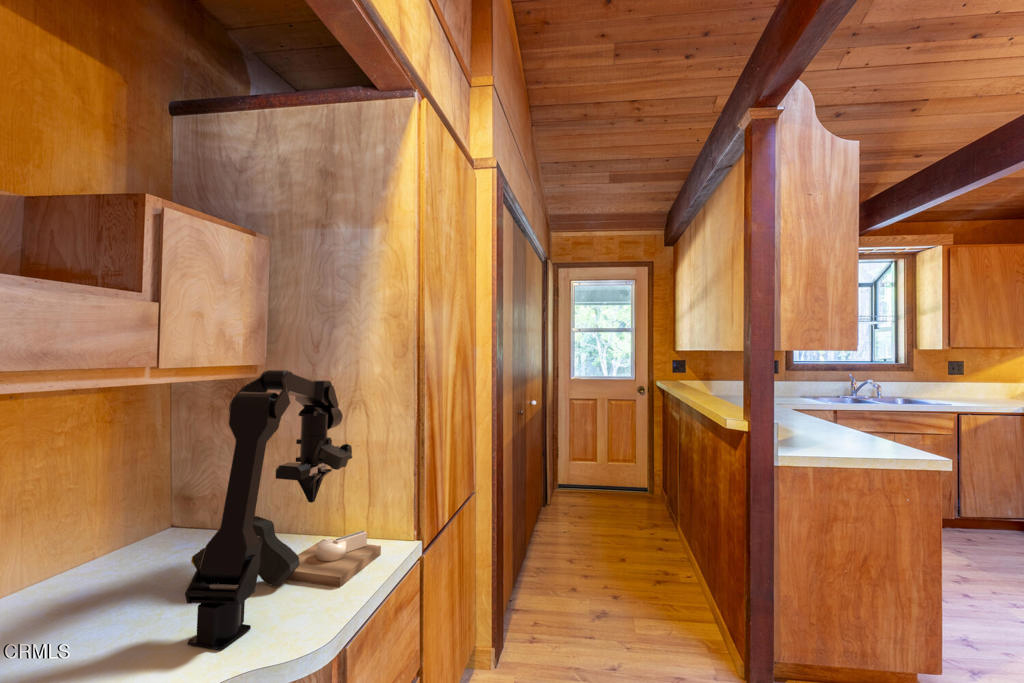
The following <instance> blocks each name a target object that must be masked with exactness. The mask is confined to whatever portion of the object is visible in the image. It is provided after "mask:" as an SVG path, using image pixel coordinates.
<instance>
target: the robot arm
mask: <svg viewBox="0 0 1024 683" xmlns="http://www.w3.org/2000/svg"><path fill="white" fill-rule="evenodd" d="M268 391H274V392H268ZM277 392H278V393H277ZM290 396H292V397H294V398H295V399H294V400H295V402H297V403H299V404H300V405H301V406H302V407H303V408H302V409H301V410H300V411H299V412H298V417H301V418H300V438H297V439H296V443H295V444H296V445H300V446H299V447H300V448H299V456H296V457H295V462H292V461H289V462H286V463H282V464H280V465H278V466H277V467H276V468H275V473H274V474H275V475H274V476H275V480H276V479H277V480H286V481H287V480H289V481H297V482H298V484H299V485H300V488H301V490H302V491H303V494H304V496H305V498H306V499H307V502H308V503H311V504H312V503H314V502H316V498H317V495H318V493H319V490H320V487H321V484H322V483H323V480H324V478H325V477H326V476H327V475H328V474H330V473H331V472H332V470H336V471H337V470H340V469H342V468H346V467H347V466H348V462H349V460H351V459H353V450H352V449H353V448H352V445H351V444H349V443H344V444H342V445H340V446H339V445H334V444H333V442H332V441H333V440H332V438H331V437H328V431H329V430H332V429H334V428H337V427H338V426H339V425H341V423H342V421H343V417H344V415H343V413H342V411H341V409H340V408H339V401H338V398H337V394H336V390H335V386H334V385H333V384H332V382H331V380H329V379H328V380H327V379H325V380H324V379H322V380H321V379H319V380H318V379H317V380H316V379H308V378H305V377H303V376H301V375H298V374H295V373H293V372H292V371H289V370H287V369H286V370H284V369H282V370H280V369H279V370H278V369H268V370H266V371H265V370H264V371H263V372H262V373H261V374H260V375H259V377H257V378H256V379H255V380H252V381H250V382H249V383H247V384H246V385H244V386H242V387H241V388H240V389H239V390H238V392H237V393H236V394H235V395H234V397H232V399H231V400H230V402H229V407H228V412H229V415H228V427H229V428H230V430H231V433H232V435H233V438H234V439H235V443H234V449H233V454H232V461H231V467H230V471H229V477H228V483H227V488H226V489H227V490H226V494H225V499H224V506H223V510H222V516H221V522H220V526H219V529H218V530H217V531H216V533H215V534H214V535H213V536H212V538H210V540H209V541H208V542H207V543H206V545H205V547H206V548H205V547H204V548H205V551H204V555H203V558H202V560H201V562H200V564H199V566H198V568H197V569H195V571H194V574H193V576H192V579H191V580H190V582H189V584H188V586H187V588H186V591H185V592H184V593H185V594H184V596H185V600H186V604H187V605H188V604H198V605H197V616H196V617H197V618H196V634H195V635H194V636H192V637H191V638H190V639H188V640H187V645H189V646H195V647H201V648H205V649H211V650H218V651H221V650H224V649H225V648H226V647H229V645H231V644H232V643H234V642H235V641H237V639H239V638H241V637H242V636H244V635H245V634H246V633H247V632H249V631H250V630H251V628H252V625H251V624H244V622H245V606H246V604H245V603H246V600H247V599H248V598H250V597H251V596H252V595H253V594H254V593H255V591H256V586H257V582H258V576H259V575H258V572H259V567H260V552H261V547H262V543H263V541H262V537H261V536H257V535H256V533H255V531H254V529H253V522H254V516H256V509H257V503H258V495H259V491H260V490H259V489H260V484H261V478H262V473H263V472H262V471H263V468H264V467H263V466H264V459H265V453H266V448H267V443H268V441H269V440H270V439H272V437H273V435H274V434H275V433H276V432H277V430H278V429H279V427H280V423H281V420H282V417H283V415H284V414H285V412H286V410H287V409H288V407H289V406H290V404H291V399H290ZM328 467H330V468H328ZM211 585H220V586H221V587H220V586H211ZM222 585H224V586H225V585H227V586H237V587H223V586H222Z"/></svg>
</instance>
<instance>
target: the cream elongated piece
mask: <svg viewBox="0 0 1024 683" xmlns="http://www.w3.org/2000/svg"><path fill="white" fill-rule="evenodd" d="M324 540H325V541H322V542H320V541H319V542H320V543H318V542H317V543H318V544H317V556H316V558H317V559H318V560H321V561H334V560H338V559H341V558H343V557H344V556H345V555H346V552H349V551H352V550H355V549H358V548H361V547H364V546H367V544H368V532H366V531H365V530H360V531H356V532H354V533H349V534H347V535H343V536H340V537H337V538H331V539H324Z"/></svg>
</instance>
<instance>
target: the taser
mask: <svg viewBox="0 0 1024 683" xmlns="http://www.w3.org/2000/svg"><path fill="white" fill-rule="evenodd" d="M253 529H254V531H255V533H256V535H257V536H261V537H262V541H263V543H262V547H261V552H260V567H259V572H258V576H259V577H260V579H261V580H262V581H263V582H265V583H266V584H268V585H270V586H271V587H273V588H278V587H279V586H280V585H282V584H283V583H284V582H285V581H288V580H287V579H288V578H289V576H290V575H291V574H292V573H293V572H294V571H295V570H296V569H297V567H298V566H299V565H300V563H299V557H298V556H297V555H298V554H297V553H296V552H295V551H294V550H293V549H292V548H291V547H290V546H289V545H287V544H286V543H285V542H283V541H282V540H280V539H279V538H278V536H277V534H276V531H275V523H274V521H272V520H270V519H266V518H264V517H261V516H257V515H255V516H254V522H253ZM205 548H206V546H205V547H202V548H201V549H199V551H198V552H196V553H195V554H194V555H192V556H191V559H190V561H191V564H192V565H193V566H194V568H195V570H197V568H198V566H199V564H200V562H201V560H202V558H203V555H204V551H205Z"/></svg>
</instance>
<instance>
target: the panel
mask: <svg viewBox="0 0 1024 683" xmlns="http://www.w3.org/2000/svg"><path fill="white" fill-rule="evenodd" d="M325 540H326V539H322V540H320V541H318V542H316V543H315V544H314V545H312V546H309V547H308V548H306V549H305V550H303V551H302V552H300V553H298V554H297V556H298V557H299V563H300V565H299V566H298V567H297V569H296V570H295V571H294V572H293V573H292V574H291V575H290V576H289V578H288V579H287V580H286V581H290V582H291V581H293V582H298V583H305V584H312V585H313V584H314V585H320V586H326V587H335V588H336V587H337V588H341V587H342V586H344V585H345V584H346V583H348V582H349V581H351V579H353V577H355V576H356V575H357V574H359V573H360V572H362V570H364V569H365V568H366V567H368V566H369V564H371V563H372V562H373V561H375V560H376V559H377V558H378V557H380V556H381V555H382V553H381V552H382V545H377V544H376V545H375V544H369V543H367V546H364V547H361V548H358V549H355V550H352V551H349V552H346V555H345V556H344V557H343V558H341V559H338V560H334V561H321V560H318V559H317V558H316V556H317V544H318V543H320V542H322V541H325Z"/></svg>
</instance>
